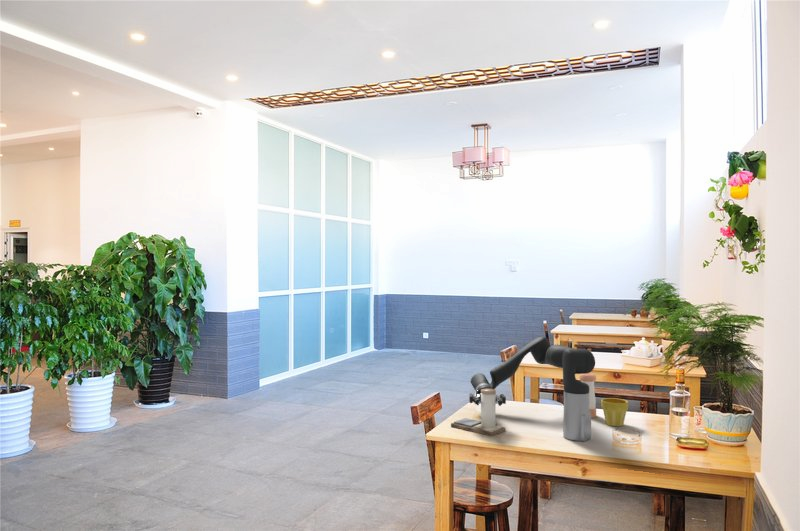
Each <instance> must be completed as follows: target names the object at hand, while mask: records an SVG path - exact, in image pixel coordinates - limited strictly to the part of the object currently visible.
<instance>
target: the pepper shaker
mask: <svg viewBox="0 0 800 531" xmlns="http://www.w3.org/2000/svg"><path fill="white" fill-rule="evenodd" d="M578 376H579V377H578V378H579V381H580V382H583V383H586V384H588V385H589V412H591V419H592V418H597V407H596V402H597V400H596V394H595V381H597V376H596V375H595V374H594V373H593V372H592V373H591V372H590V373H587V374H579V375H578Z"/></svg>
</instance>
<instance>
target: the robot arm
mask: <svg viewBox="0 0 800 531" xmlns="http://www.w3.org/2000/svg"><path fill="white" fill-rule="evenodd" d="M529 353H530V354H531V356H532V358H533V359H534V361H535V362H536V363H537V364H538V365H539V364H540V365H550V366H552V367H555V368H559V369H562V382H563V383H562V384H563V423H562V424H563V426H562V427H563V430H562V431H563V433H562V434H563V438H565V439H567V440H571V441H581V442H585V441H587V440H589V439H591V438H592V418H591V412H589V385H588V384H586V383H583V382H581V380H578V379H577V378H576V374H577V375H580V374H587V373H591V372H593V370H594V368H595V367H596V359H595V356H594V354H593V353H592V351H590V350H589V349H586V348H572V347H569V346H566V345H562V344H553V345H551V343H549V341H548V339H547V337H545V336H539V337H536V338H534V339H533V340H531V341H530V342H528V343H527V344H526V345H525V346H523V347H521V349H519V350H518V351H517V352H515V354H513V355H512V356H510V357H509V358H508V359H507V360H505V361H503V362H502V363H500V364H498V365H497V366H495V367H494V368H492V369H491V370H490V371H489V374H490V378H491V382H489V380H488V378H487V377H486V375H485V374H484V373H482V372H481V373H476V374H474V375H473V376H471V378H470V384H471V386H472V387H473V389H474V392H475V395H474V394H473V393H469V395H468V396H469V398H468V399H469V400H468V401H469V404H472V403H474V404H475V405H476V406H480V405H481V389H494V390H496V388H497V387H499V385H500V384H502V383H504V382H505V381H506V380H508V379H510V378H511V377H513V376H514V375H515V374H516V372H517V371H518V369H519V367H520V365H521V363H522V361H523V359H524V358H525V357H526V356H527V355H528V354H529ZM477 390H478V391H477ZM479 404H480V405H479ZM496 404H497V405H498V407H501V406H502V405H503V404H504V405H505V404H507V398H506V396H505V394H503V393H501V394H499V395H498V394H496Z"/></svg>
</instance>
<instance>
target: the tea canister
mask: <svg viewBox="0 0 800 531" xmlns="http://www.w3.org/2000/svg"><path fill="white" fill-rule="evenodd" d="M496 393H497V390H496V389H481V403H480V421H481V426H482V427H484V428H494V427H495V426H496V425H497V423H496V422H497V421H496V419H497V418H496V414H497V413H496V407H497V406H496V395H497V394H496Z"/></svg>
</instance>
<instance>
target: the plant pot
mask: <svg viewBox="0 0 800 531" xmlns="http://www.w3.org/2000/svg"><path fill="white" fill-rule="evenodd" d="M600 401H601V402H600V403H601V404H600V405H601V407H600V408H601V409H602V411H603V415H604V419H605V424H606V425H607V426H611V427H623V426H624V424H625V418H626V414H627V411H628V410H629V400H626V399H623V398H617V397H616V398H615V397H606V398H605V397H604V398H602V399H601V400H600Z"/></svg>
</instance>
